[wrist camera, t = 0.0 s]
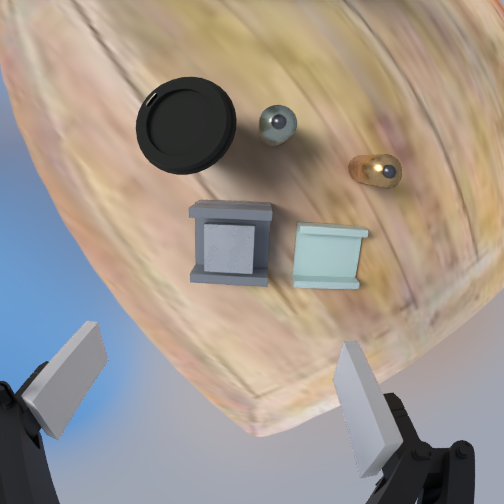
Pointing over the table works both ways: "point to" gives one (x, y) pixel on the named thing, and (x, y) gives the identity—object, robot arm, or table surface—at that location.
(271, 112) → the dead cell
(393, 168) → the cell
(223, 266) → the plate
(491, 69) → the table surface
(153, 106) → the coffee cup
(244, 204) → the cradle
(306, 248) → the trough
